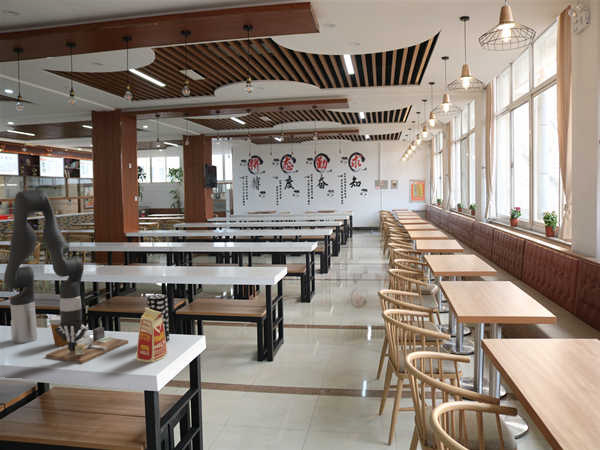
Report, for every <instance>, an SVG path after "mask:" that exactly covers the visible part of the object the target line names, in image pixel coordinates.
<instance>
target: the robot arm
mask: <svg viewBox="0 0 600 450" xmlns="http://www.w3.org/2000/svg"><path fill="white" fill-rule="evenodd" d="M13 202H14V205H13V210H14V211H13V224H12V225H13V226H12V233H11V236H10V246H9V254H8V259H7V264H6V267H5V271H4V276H3V279H4V280H3V282H4V283H3V284H4V286H5V288H7V289H8V290H15V289H22V290H21V291H20V292H18V293H17V294H15V295H14V296H11V298H10V299H9V302H10V314H11V320H10V330H11V341H12V342H13V343H15V344H26V343H30V342H33V341H36V340H37V339H38V328H37V317H36V316H37V314H36V305H35V303H36V302H35V273H34V270H33V268H32V267H31V266H21V265H22V264H23V263H24V262H25V261H26V260H27V259H29V258H30V256H32V254H33V253H34V252H35V249H36V246H37V241H38V235H37V232H36V231H35V229H34V227H32V226H31V225H30V224H29V222H28V216H29V215H30V214H35V213H41V214H42V216H43V217H44V226H43V229H42V230H43V231H42V240H43V242H44V244H45V247H46V248H47V250H48V252H49V254H50V259H51V263H52V270H53V272H54V273H55V274H56V276H58V277H61V278H62V277H63V278H64V277H68V278H66V280H64V281H63V282H61V283H60V284H59V315H60V319H61V323H60V326H59V327H57V328H55V331H56V332H57V334H58V335H59V336H60V337H61V338H62V340H63V341H67V342H68V345H67V346H68V349H69V351H75V346H76V345H77V342H78V341H81V340H82V339H83V336H84V335H86V333H87V332H88V330H89V329H90V328H89V326H85V325H84V322H83V320H82V319H83V318H82V317H83V310H82V307H83V306H82V298H81V287H80V286H81V283H82V278H83V274H84V268H85V266H84V262H83V260H82V258H80V257H79V256H69V257H64V255H66V254H67V253H69V251H70V245H69V243H68V242H67V240H66V238H65V236H64V235H63V232H62V230H61V228H60V226H59V224H58V220H57V217H56V215H55V212H54V207H53V206H52V203H51V200H50V198H49V196H48V193H47V192H46V191H45V190H43V189H40V188H38V189H36V188H35V189H29V190H21V191H18V192H17V193H16V194H15V198H14V201H13ZM79 331H80V332H79Z"/></svg>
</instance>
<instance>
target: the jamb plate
mask: <svg viewBox="0 0 600 450" xmlns="http://www.w3.org/2000/svg"><path fill="white" fill-rule="evenodd" d="M92 335H93V341H94V344H92V345H89V346H88V348H87V349H86V351H85V353H84V354H80V355H76V352H75V351H69V349H68V345H65V346H62V348H59V349H55V350H53V351H51V352H48V353H46V354H45V357H46V358H48V359H55V360H62V361H67V362H74V363H79V364H84V363H87V362H90V361H91V360H93V359H95V358H98V357H100V356H102V355H105V354H107V353H109V352H111V351H114V350H116V349H118V348H120V347H122V346H125V345H126V344H129V340H128V339H122V338H121V339H120V338H115V337H111V336H105V327H102V326H100V327H96V328H94V329H92ZM80 341H81V340H78V341H77V345H78V344H79V343H80Z"/></svg>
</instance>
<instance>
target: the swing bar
mask: <svg viewBox="0 0 600 450" xmlns="http://www.w3.org/2000/svg"><path fill="white" fill-rule="evenodd" d="M79 341H80V343H79V344H78V345H76V346H75V352H76V355H80V354H84V353H85V351H86V349H87V348H88V346H89V345H92V344H94V341H93V333H92V334H84V336H83V337H82V338H81V339H80V340H79Z"/></svg>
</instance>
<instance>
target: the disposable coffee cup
mask: <svg viewBox="0 0 600 450" xmlns="http://www.w3.org/2000/svg"><path fill="white" fill-rule="evenodd" d="M48 322H49V324H50V327H51V331H52V332H51V333H52V336H53V341H54V346H56V347H66V346H68V342H67V341H63V340H62V338H61V337H60V336H59V335H58V334H57V332H56V331H55V328H57V327H59V326H60V323H61V319H60V314H58V315H54V316H51V317H50V318H49V321H48Z"/></svg>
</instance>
